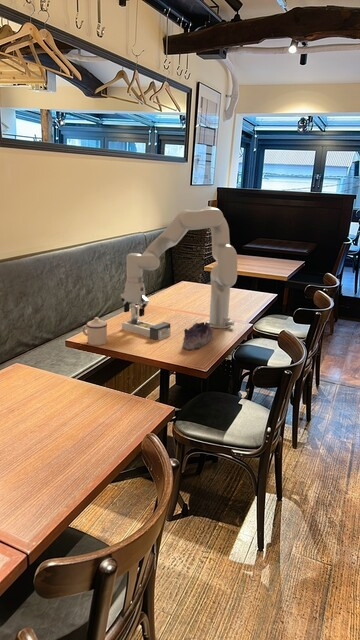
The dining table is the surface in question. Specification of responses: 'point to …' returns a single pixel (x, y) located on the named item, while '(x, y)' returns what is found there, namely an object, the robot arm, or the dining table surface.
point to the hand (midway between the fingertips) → (134, 313)
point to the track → (149, 329)
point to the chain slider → (136, 316)
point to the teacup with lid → (96, 332)
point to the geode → (197, 336)
